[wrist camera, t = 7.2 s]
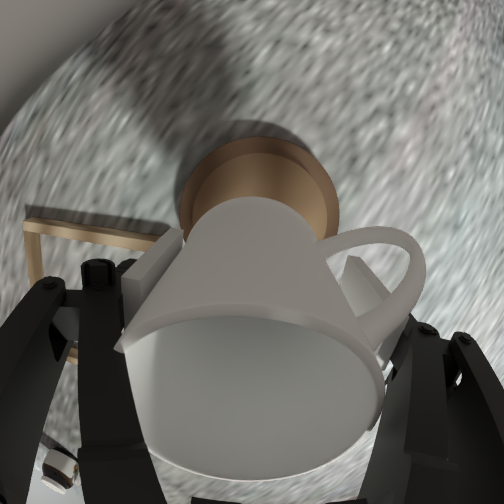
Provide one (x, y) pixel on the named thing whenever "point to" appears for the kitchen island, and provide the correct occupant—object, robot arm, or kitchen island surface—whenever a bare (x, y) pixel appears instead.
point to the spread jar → (60, 470)
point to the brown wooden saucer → (262, 182)
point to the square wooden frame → (77, 233)
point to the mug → (261, 346)
